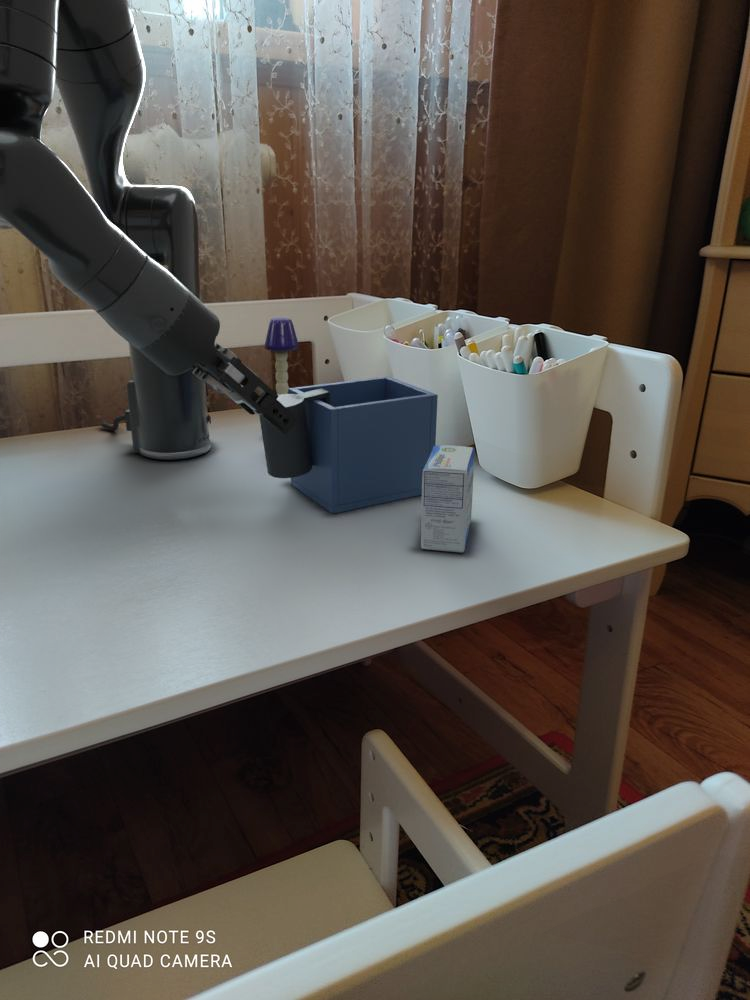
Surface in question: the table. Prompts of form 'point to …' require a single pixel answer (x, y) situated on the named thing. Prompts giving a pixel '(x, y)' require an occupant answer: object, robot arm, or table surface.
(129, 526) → the table surface
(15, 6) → the robot arm
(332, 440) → the box
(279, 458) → the mug
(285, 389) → the toy lamp
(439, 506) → the medicine box
